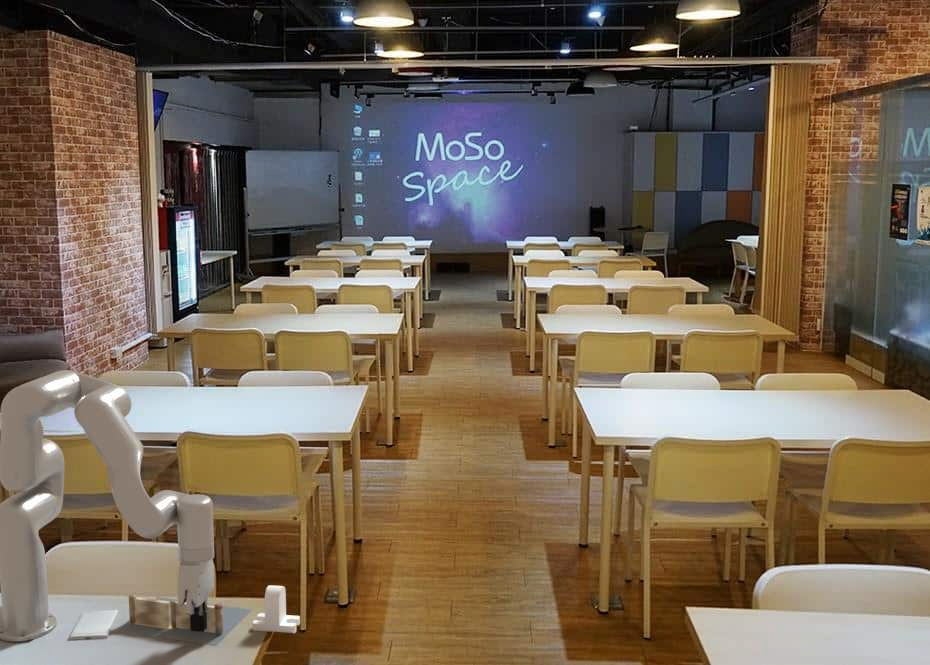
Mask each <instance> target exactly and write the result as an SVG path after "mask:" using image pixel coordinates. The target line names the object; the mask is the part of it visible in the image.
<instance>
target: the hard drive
mask: <svg viewBox="0 0 930 665" xmlns="http://www.w3.org/2000/svg"><path fill="white" fill-rule="evenodd" d="M119 614H120V611H119V609H108V610H106V609H105V610H104V609H103V610H87V611H86V610H84V611H83V612H82V613H81V615H80V617H79V619H78V620H77V622H76V624H75V626H74V628H73V630H72V631H71V634H70V635H69V637H68V640H85V639H95V640H96V639H108V637H109V635H110V633H111V631H112V628H113V627H114V625H115V623H116V620H117V619H118V616H119Z"/></svg>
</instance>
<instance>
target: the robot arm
mask: <svg viewBox="0 0 930 665" xmlns="http://www.w3.org/2000/svg"><path fill="white" fill-rule="evenodd" d="M69 408H73V409H74V410H73V412H74V418H75V420H76V421H77V424H78V425H79V427H80V428H81V429H82V431H83V432H84V434H85V435H86V437H87V439H88V440H89V441H90V443H91V444H92V446H93V447H94V449H95V450H96V452H97V453H98V455H99V457H100V458H101V460H102V461H103V463H104V464H105V466H106V467H107V470H108V479H109V485H110V490H111V493H112V497H113V501H114V503H115V506H116V507H117V510H118V511H119V513H120V514H121V516H122V518H124V521H125V522H126V523H127V525H128V526H129V527H130V528H131V529H132V530H133V532H134V533H136V534H137V535H138V536H140V537H141V538H145V539H154V538H157V537H159V536H160V535H162V534H163V533H164V532H166V531H167V530H168V529H169V528H170V527H172V526H174V525H177V546H178V549H177V550H178V561H179V567H178V574H177V600H178V605H179V606H182V605H183V604H184V603H185V602H186V614H189V615H190V630H191V631H199V632H204V631H205V629H206V628H207V612H204V611H206V610H207V604H208V598H209V597H210V595H211V594H212V593H213V591H214V589H215V569H214V560H213V559H214V558H215V539H214V538H215V536H214V506H213V504H214V503H213V500H212V499H211V497H210V496H208V495H205V494H199V493H198V494H197V493H196V494H195V493H194V494H187V493H183V492H180V491H175V490H171V489H165V490H160V491H159V492H157V493H155V494H154V495H153V496H151V497H150V496H149V494H148V493H147V491H146V489H145V487H144V484H143V482H142V478H141V465H142V464H141V463H142V461H143V456H144V445H143V443H142V442H141V440H140V439H139V438H138V436H137V433H135V431H134V429H133V428H132V427H131V426H130V424H129V422H128V421H127V419H126V417H127V416H128V415H129V414H130V412H131V410H132V399H131V396H130V395H129V393H128V392H127V391H126V390H125V389H124V388H123V387H122V386H120V385H117V384H115V383H113V382H110V381H107V380H104V379H101V378H98V377H94V376H91V375H89V374H85V373H82V372H80V371H75V370H72V369H71V370H70V369H62V370H58V371H55V372H52V373H50V374H47V375H45V376H42V377H38V378H36V379H33V380H30V381H27V382H25V383H23V384H21V385H19V386H16V387H14V388H12V389H11V390H10V391H9V392H7V394H6V395H5V396H4V398H3V400H2V401H1V405H0V483H1V485H2V486H3V488H4V489H5V490H6V491H8V492H11V493H14V494H13V495H11V496H10V497H8V498H6V499H5V500H3V501H2V502H1V503H0V598H1V605H0V640H2V641H5V642H15V643H17V642H27V641H31V640H32V641H33V640H35V639H39V638H41V637H44V636H46V635H48V634H50V633H51V632H52V631H53V630H55V628H56V627H57V624H58V622H57V617H56V616H55V615H54V614H52V613H50V611H49V597H48V596H49V594H48V592H49V591H48V579H47V578H48V577H47V576H48V574H47V561H46V551H45V547H44V544H43V542H42V540H41V538H40V536H39V535H40V534H39V530H41V529H42V528H44V526H47V525H48V524H49V523H51V522H52V521H53V520H54V519H56V518H57V517H58V516H59V515H60V513H61V511H62V507H63V503H64V489H65V485H64V484H65V466H66V465H65V464H66V463H65V458H64V457H65V456H64V454H63V451H62V449H61V448H60V446H59V445H58V444H57V443H56V442H55V441H53V440H50V439H49V438H44V427H43V424H42V421H41V419H43V418H48V417H51V416H54V415H55V414H58V413H60V412H63V411H65V410H67V409H69Z"/></svg>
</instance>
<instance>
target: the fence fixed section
mask: <svg viewBox="0 0 930 665" xmlns="http://www.w3.org/2000/svg"><path fill="white" fill-rule="evenodd" d="M155 599H156V598H155ZM155 599H153V598H147V597H146V598H145V597H138V594H135V593H134V594H129V596H128V610H129V612H128V613H129V620H130V623H131V624H135V623H137V624H144V625H152V626H159V627H166V628H169V627H170V626H171V612H170V601H162V600H155Z"/></svg>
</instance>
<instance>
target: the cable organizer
mask: <svg viewBox="0 0 930 665" xmlns="http://www.w3.org/2000/svg"><path fill="white" fill-rule="evenodd" d="M286 593H287V591H286V587H285V585H284V586H283V585H270V584H269V585H268V586H267V587H266V589H265V594H264V612H260V613H258V614H257V615H256V619H253V621H252V630H253V631H257V632H258V631H259V632H260V631H262V632H275V633H276V632H277V633H289V634H290V633H292V634H293V635H294V634H296V633H297V626H300V625H301V616H300V615H291V614H290V615H289V614H287V598H286V597H287V594H286Z"/></svg>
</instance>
